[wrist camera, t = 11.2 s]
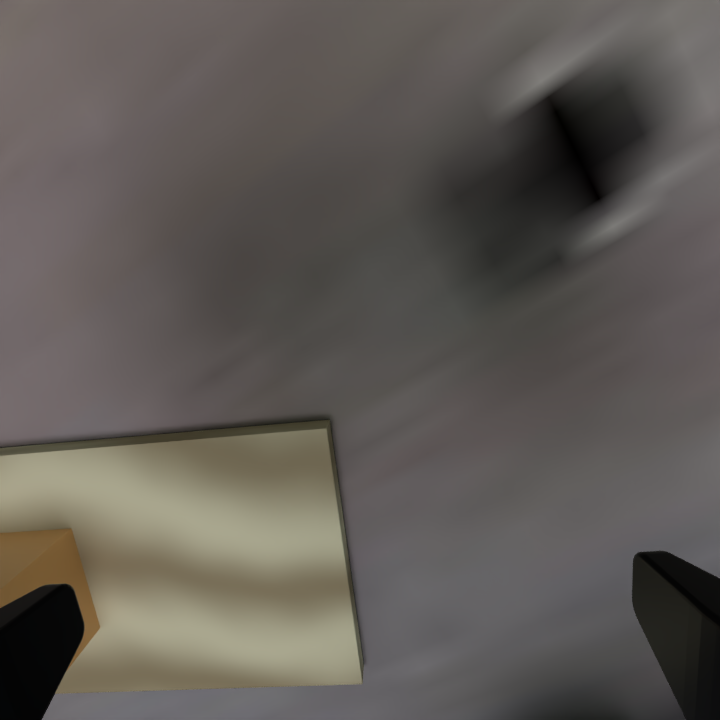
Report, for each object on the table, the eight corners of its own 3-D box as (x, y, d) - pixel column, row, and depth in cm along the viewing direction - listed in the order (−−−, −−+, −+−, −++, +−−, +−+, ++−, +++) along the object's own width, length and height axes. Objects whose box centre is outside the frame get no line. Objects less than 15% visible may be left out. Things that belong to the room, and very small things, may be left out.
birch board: (363, 665, 22) (362, 684, 21) (-6, 678, 24) (-22, 695, 23) (329, 419, 19) (326, 428, 18) (-87, 455, 21) (-111, 465, 20)
